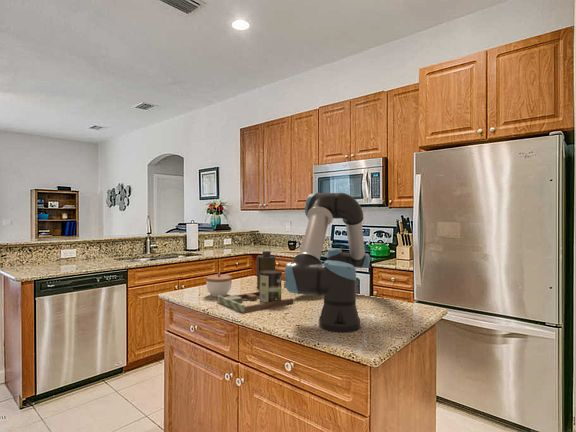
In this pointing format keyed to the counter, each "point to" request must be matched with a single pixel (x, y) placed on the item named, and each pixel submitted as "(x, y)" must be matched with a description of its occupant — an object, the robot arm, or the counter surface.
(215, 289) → the lidded bowl
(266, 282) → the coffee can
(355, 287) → the robot arm
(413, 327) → the counter surface
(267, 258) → the canister
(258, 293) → the trap lane
